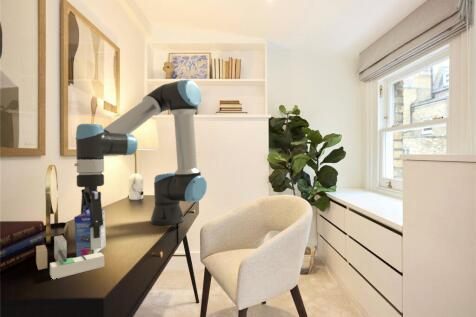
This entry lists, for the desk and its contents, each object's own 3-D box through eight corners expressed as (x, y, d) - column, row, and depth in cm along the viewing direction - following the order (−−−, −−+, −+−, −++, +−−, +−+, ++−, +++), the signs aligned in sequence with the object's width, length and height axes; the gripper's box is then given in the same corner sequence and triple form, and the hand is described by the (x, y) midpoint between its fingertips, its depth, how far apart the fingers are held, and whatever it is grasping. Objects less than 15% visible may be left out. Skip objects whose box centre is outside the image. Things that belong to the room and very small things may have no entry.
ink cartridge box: (88, 246, 88) (88, 202, 88) (106, 245, 89) (105, 202, 89) (74, 257, 78) (73, 208, 78) (93, 256, 79) (93, 207, 79)
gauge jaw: (62, 256, 82) (62, 235, 82) (72, 273, 69) (72, 248, 69) (54, 257, 80) (54, 236, 80) (63, 275, 68) (63, 250, 68)
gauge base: (90, 252, 86) (90, 236, 86) (104, 266, 74) (104, 248, 74) (36, 263, 77) (36, 246, 77) (41, 282, 65) (41, 261, 65)
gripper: (69, 173, 90) (70, 238, 90) (85, 175, 72) (86, 256, 72) (94, 172, 95) (95, 234, 95) (114, 174, 77) (115, 250, 77)
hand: (91, 244), depth 83 cm, fingers closed on ink cartridge box, 11 cm apart
